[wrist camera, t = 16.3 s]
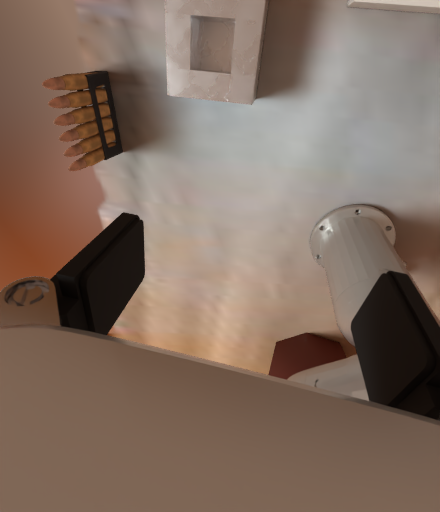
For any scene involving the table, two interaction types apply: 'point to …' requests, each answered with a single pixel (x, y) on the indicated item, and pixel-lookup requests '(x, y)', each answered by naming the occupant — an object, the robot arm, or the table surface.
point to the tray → (398, 5)
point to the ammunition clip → (87, 117)
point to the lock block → (214, 48)
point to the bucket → (303, 354)
